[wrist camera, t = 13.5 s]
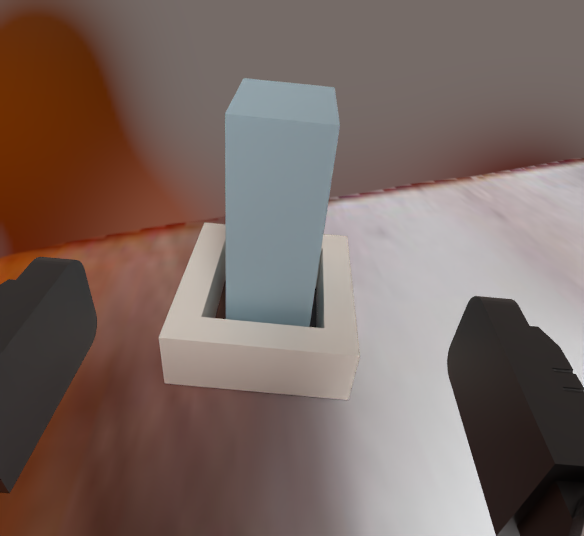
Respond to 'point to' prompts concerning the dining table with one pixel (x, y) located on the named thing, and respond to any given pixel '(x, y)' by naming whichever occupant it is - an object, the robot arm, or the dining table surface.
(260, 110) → the blue-grey rectangular block
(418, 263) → the dining table surface
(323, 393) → the end cap
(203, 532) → the dining table surface
